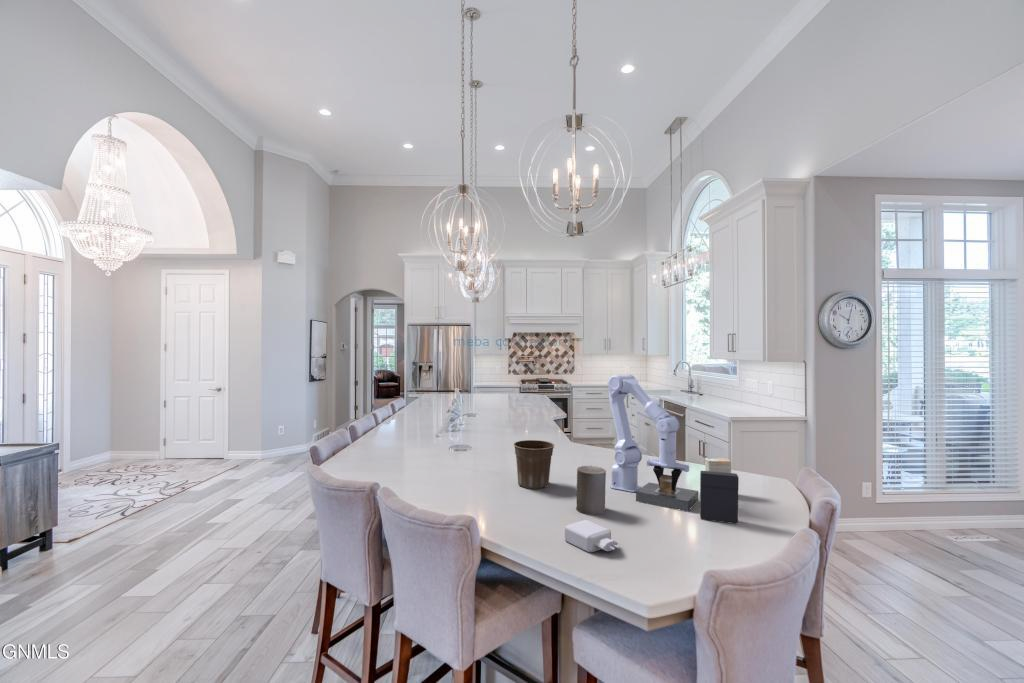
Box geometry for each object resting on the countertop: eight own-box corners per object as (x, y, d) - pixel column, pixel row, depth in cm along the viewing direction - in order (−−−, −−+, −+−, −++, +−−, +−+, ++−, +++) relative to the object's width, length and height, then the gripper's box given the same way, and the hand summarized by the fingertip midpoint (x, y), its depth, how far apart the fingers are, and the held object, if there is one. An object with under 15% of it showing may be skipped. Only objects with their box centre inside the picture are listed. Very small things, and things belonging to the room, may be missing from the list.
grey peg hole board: (635, 501, 170) (636, 491, 170) (648, 491, 181) (649, 482, 181) (687, 511, 160) (688, 500, 160) (698, 500, 171) (698, 490, 171)
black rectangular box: (736, 519, 152) (737, 473, 153) (738, 524, 148) (738, 476, 149) (699, 515, 156) (700, 469, 156) (700, 520, 152) (700, 472, 152)
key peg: (659, 499, 170) (659, 476, 170) (662, 496, 173) (663, 474, 173) (671, 501, 167) (671, 478, 167) (674, 498, 171) (674, 476, 171)
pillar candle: (570, 509, 160) (571, 465, 160) (586, 502, 167) (587, 460, 167) (595, 517, 153) (595, 471, 153) (611, 510, 161) (611, 465, 161)
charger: (604, 562, 122) (564, 542, 134) (628, 553, 127) (588, 535, 139) (604, 543, 122) (564, 525, 134) (628, 535, 127) (588, 518, 139)
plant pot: (555, 491, 180) (555, 448, 180) (512, 490, 180) (513, 448, 181) (552, 479, 197) (552, 440, 197) (513, 478, 197) (513, 439, 197)
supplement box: (727, 492, 181) (727, 458, 182) (731, 496, 177) (731, 461, 177) (704, 491, 182) (704, 457, 182) (708, 495, 178) (708, 460, 178)
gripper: (644, 449, 172) (643, 487, 171) (685, 455, 163) (685, 495, 163) (650, 446, 177) (650, 483, 177) (690, 451, 169) (690, 490, 169)
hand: (667, 488), depth 171 cm, fingers closed on key peg, 4 cm apart
